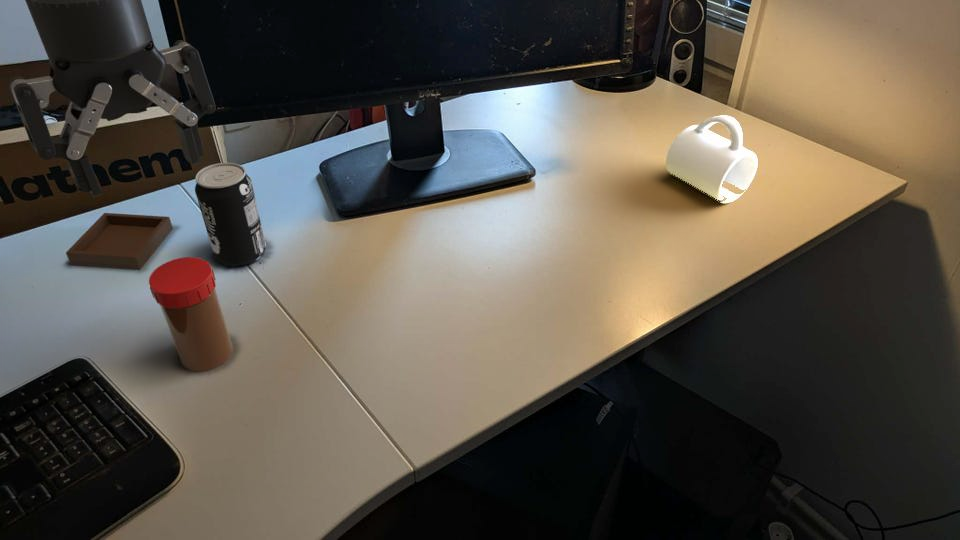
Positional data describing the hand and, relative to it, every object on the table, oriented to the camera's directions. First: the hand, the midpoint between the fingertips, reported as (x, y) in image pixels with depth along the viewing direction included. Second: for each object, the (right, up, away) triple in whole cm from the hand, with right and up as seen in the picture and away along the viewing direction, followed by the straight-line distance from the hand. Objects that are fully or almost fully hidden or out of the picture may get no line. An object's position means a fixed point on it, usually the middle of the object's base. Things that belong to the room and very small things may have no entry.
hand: (146, 176), depth 59 cm
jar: (0, -18, +14) cm, 22 cm away
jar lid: (0, -9, +7) cm, 12 cm away
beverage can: (-2, -6, +28) cm, 29 cm away
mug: (+64, +4, +43) cm, 77 cm away
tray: (-18, -5, +29) cm, 34 cm away
